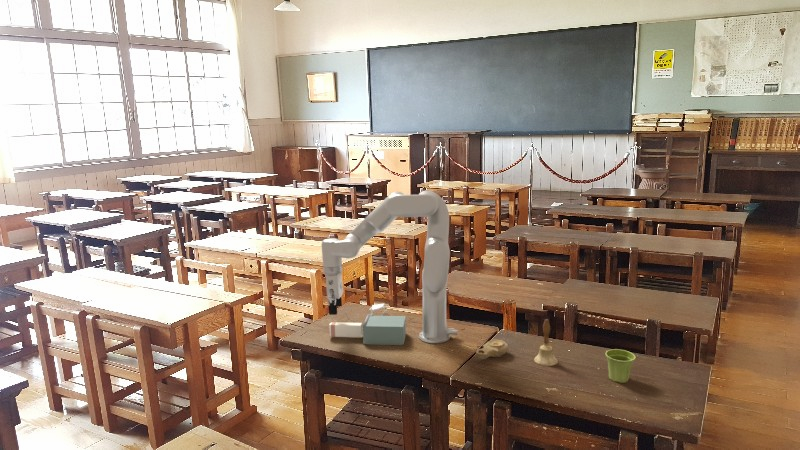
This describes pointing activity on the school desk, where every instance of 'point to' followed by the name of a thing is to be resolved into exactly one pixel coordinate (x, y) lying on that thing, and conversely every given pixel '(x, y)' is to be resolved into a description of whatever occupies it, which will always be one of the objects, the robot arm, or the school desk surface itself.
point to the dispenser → (384, 330)
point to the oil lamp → (492, 349)
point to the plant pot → (619, 364)
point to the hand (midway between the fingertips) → (335, 310)
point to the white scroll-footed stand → (378, 308)
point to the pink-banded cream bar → (345, 329)
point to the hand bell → (546, 349)
